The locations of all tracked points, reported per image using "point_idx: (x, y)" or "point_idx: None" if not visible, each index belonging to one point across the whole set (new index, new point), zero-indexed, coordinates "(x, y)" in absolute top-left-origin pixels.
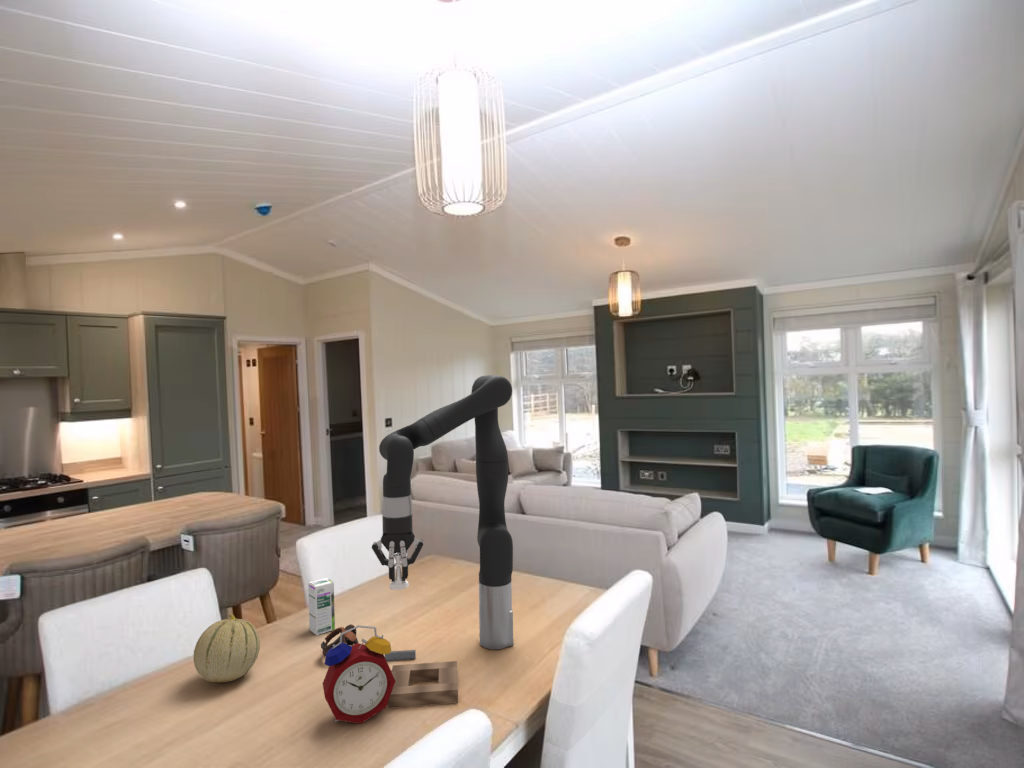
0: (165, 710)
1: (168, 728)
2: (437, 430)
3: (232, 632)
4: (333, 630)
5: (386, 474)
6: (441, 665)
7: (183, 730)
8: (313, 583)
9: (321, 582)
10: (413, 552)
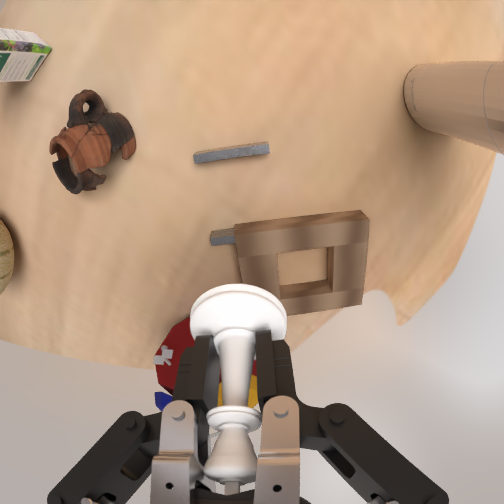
0: (6, 294)
1: (31, 321)
2: None
3: None
4: (52, 139)
5: None
6: (338, 235)
7: (44, 326)
8: None
9: None
10: (351, 464)
